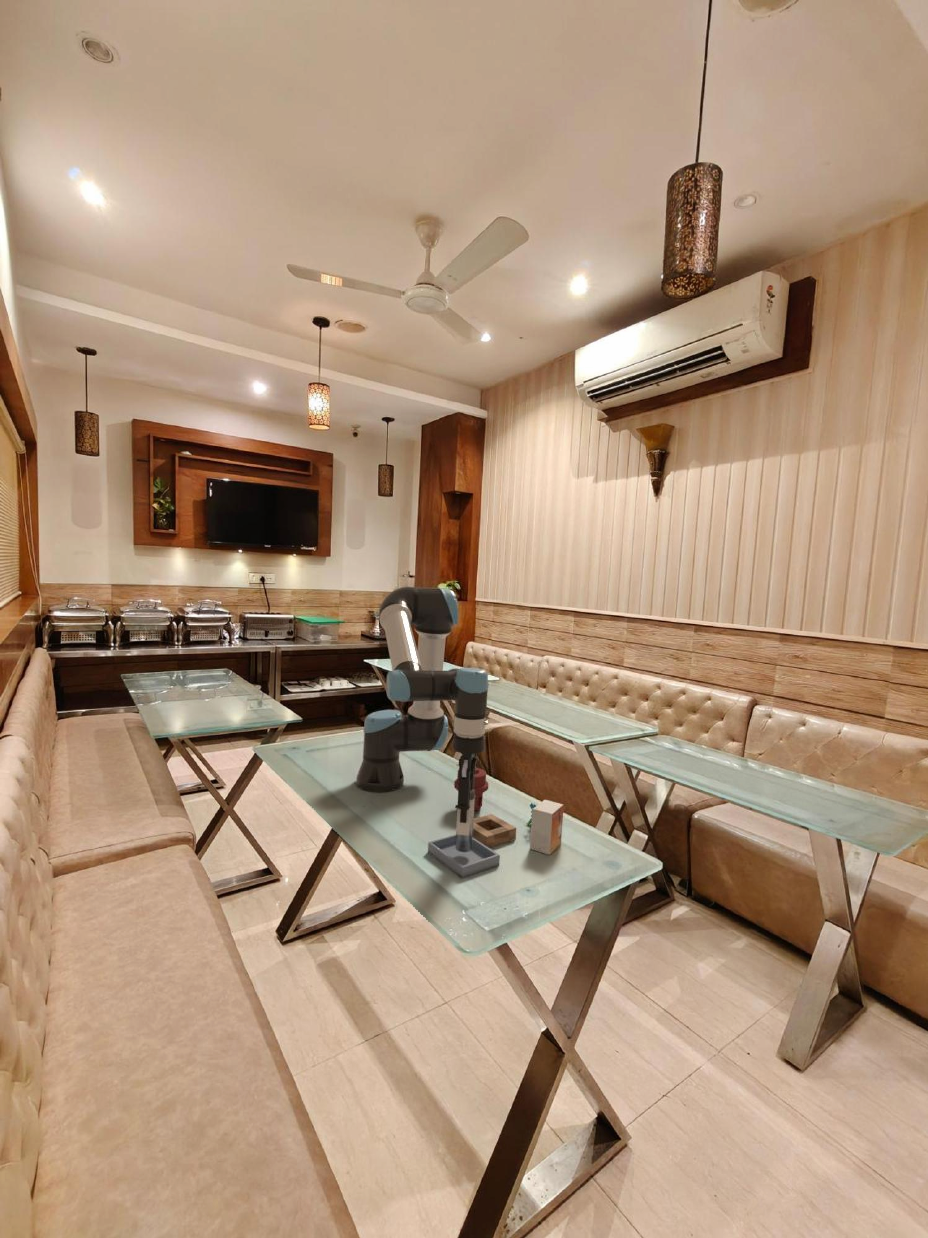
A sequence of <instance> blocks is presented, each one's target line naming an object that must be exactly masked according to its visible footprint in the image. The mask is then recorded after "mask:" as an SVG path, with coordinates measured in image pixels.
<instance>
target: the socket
mask: <svg viewBox="0 0 928 1238" xmlns="http://www.w3.org/2000/svg"><path fill="white" fill-rule="evenodd" d="M473 838H474V839H476V840H478V841H479V842H481V843H482V844H484V845H485V846H487V847H488V848H490V849H491V848H492V847H496V846H499V845H501V844H504V843H508V842H511V841H514V840H516V839H517V827H516V826H514V825H512V824H511V823H509V822H507V821H505V820H504V819H501V818H499V817H498V816H496V815H494V814H492V813H490V814H487V815H483V816H479V817H476V818H474V821H473Z"/></svg>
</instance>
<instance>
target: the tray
mask: <svg viewBox="0 0 928 1238" xmlns="http://www.w3.org/2000/svg"><path fill="white" fill-rule="evenodd" d="M427 844H428V845H427V853H428V854H430V856H432V857H433V858H435V859H436V860H437V861H438V862H440V863H441V864H443V865H444V866H445V867H447V869H449V870H450V871H452V872H453V873H454V874H456V875H457V876H458V877H459V878H461V879H464V878H467V877H470V876H473V875H475V874H479V873H481V872H484V871H487V870H490V869H493V868H496V867H498V866H500V861H501V860H500V859H501V857H500V854H499V853H498V852H496V851H495V850H493V849H491V847H490V848H488V847H487V846H485V845H484V844H482V843H481V842H479V841H478V840H476V839H474V838H473V840H472V850H471V851H469V852H460V851H457V850H456V848H455V846H456V833H455V834H452V835H448V836H445V837H441V838H437V839H435V840H432V841H428V843H427Z"/></svg>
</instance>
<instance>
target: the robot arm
mask: <svg viewBox="0 0 928 1238" xmlns="http://www.w3.org/2000/svg"><path fill="white" fill-rule="evenodd" d="M458 603H459V602H458V599H457V595H456V593H455V592H454V591H453V590H452V589H449V588H442V587H417V586H415V587H414V586H403V587H399V588H397V589H394V590H393V591H391V592H390V593H388V595H386V597H385V598H384V599H383V600H382V602H381V604H380V606H379V610H378V619H379V623H380V625H381V627H382V629H384V634H385V638H386V642H387V649H388V654H389V659H390V664H391V670H389V671H388V672H387V674H386V687H385V688H386V696H387V698H388V699H389V700H390V701H392V702H393V701H394V702H413V703H412V705H411V706H410V707H408V710H407V714H405V715H404V714H402V712H401V710H399V709H398V710H397V709H384V710H377V711H374V712H371V713H370V714H368V715H367V716H366V717H365V719H364V726H363V727H364V728H363V748H362V749H363V750H362V753H363V754H362V762H361V764H360V767H359V770H358V772H357V775H356V786H357V787H358V788H359V789H361V790H364V791H368V792H376V793H383V792H385V793H386V792H392V791H396V790H398V789H400V788H402V787H403V786H404V782H405V780H404V779H405V777H404V772H403V768H402V766H401V763H400V762H401V761H400V753H402V752H403V753H405V752H432V751H439V750H440V749H443V747H444V746H445V744H446V741H447V738H448V733H449V727H448V726H449V721H448V717H447V716H446V715H445V714H444V710H443V708H441V702H444V701H445V702H446V701H447V702H448V701H449V702H450V701H452V702H454V715H453V730H452V732H453V733H454V734H453V737H452V738H453V739H452V749H453V751H455V752H456V753H460V754H461V755H460V757H459V759H458V770H457V773H458V772H459V786H458V790H457V804H455V809H457V808H458V828H457V835H466V836H469V824H470V792H471V789H473V790H474V780H475V771H476V767H477V762H478V757H477V755H478V754H482V753H484V751H485V744H486V743H485V742H486V736H485V733H486V726H488V725H489V722H488V720H486V719H487V708H488V707H487V706H488V691H489V690H488V689H489V676H488V675H489V673H488V672H487V670H486V669H483V668H478V667H462V668H458V667H457V668H450V669H447V670H444V661H445V648H446V639H447V636H449V635H450V634H451V633H452V627H455V626H457V625H458V621H459V615H460V614H459V604H458ZM412 625H413V626H414V628H413V629H414V631H415V632H416V633H417V634H418V640H417V642H418V643H417V644H416V640H415V636H414V632H413V629H412ZM475 799H476V795H475Z"/></svg>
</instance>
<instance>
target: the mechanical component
mask: <svg viewBox="0 0 928 1238" xmlns="http://www.w3.org/2000/svg"><path fill="white" fill-rule="evenodd" d="M453 783H454V784H453V786H454V787H453V788H454V789H455V790H456V791H458V786H459V772H458V771H457V777H456V778H455V780H454V782H453ZM474 790H475V795H476V799H475V801H474V812H475V811H478V810H481V808H482V807H483V796H484V793H485V792H487V791H488V790H489V782H488V781H487V772H486V770H484V769H482V768H478V767H477V766H476V771H475V780H474Z"/></svg>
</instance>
